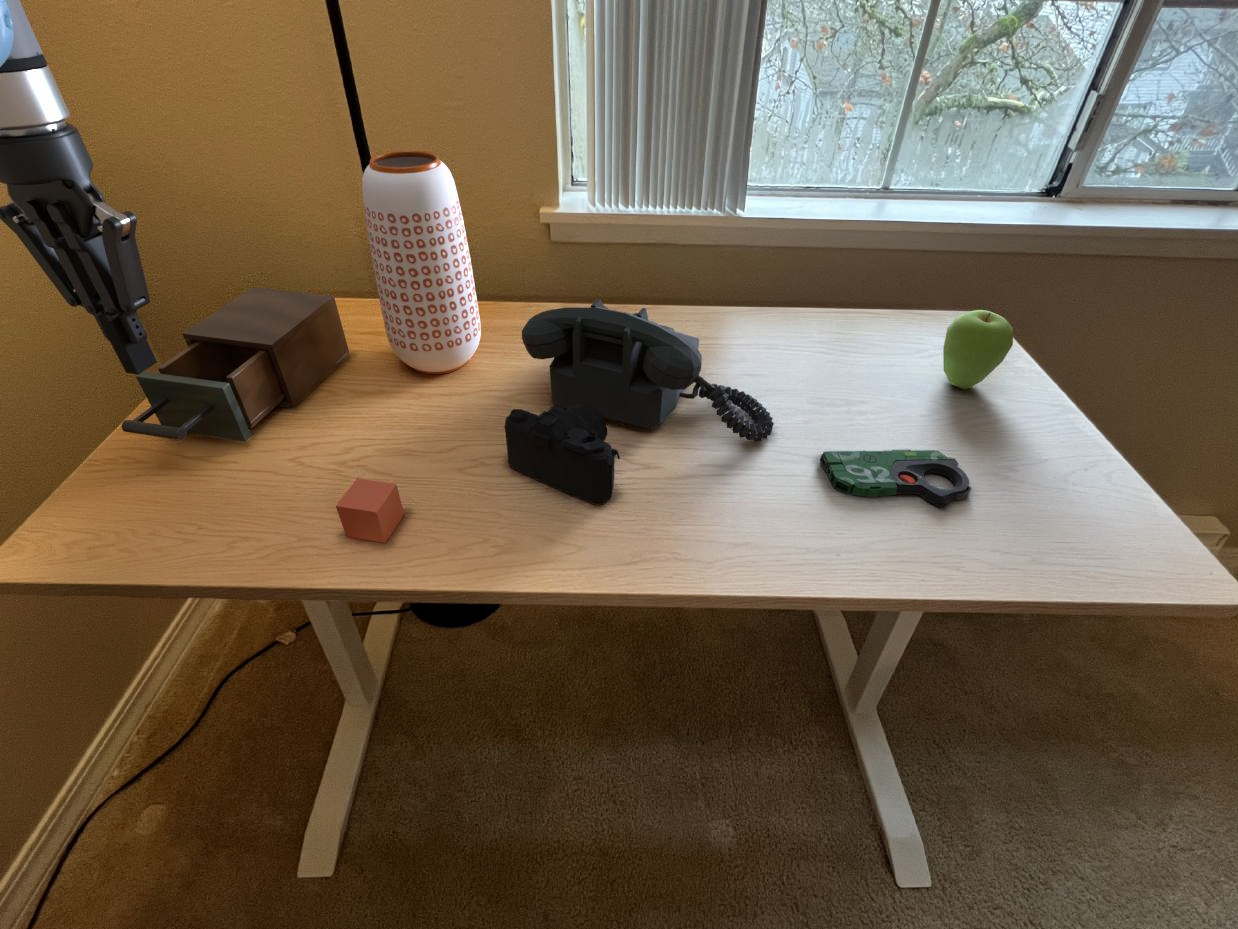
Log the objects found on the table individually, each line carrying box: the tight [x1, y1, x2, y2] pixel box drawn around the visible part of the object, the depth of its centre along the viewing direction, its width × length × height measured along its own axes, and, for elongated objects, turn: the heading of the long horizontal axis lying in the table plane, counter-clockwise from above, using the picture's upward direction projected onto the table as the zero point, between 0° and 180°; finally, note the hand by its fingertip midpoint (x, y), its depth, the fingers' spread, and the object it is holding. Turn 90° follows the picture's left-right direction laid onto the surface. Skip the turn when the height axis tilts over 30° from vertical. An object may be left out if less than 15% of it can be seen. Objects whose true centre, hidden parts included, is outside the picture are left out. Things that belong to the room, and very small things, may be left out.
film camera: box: [503, 404, 621, 505], centre depth 75 cm, size 15×10×9 cm, turn 58°
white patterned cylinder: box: [361, 150, 482, 375], centre depth 88 cm, size 13×13×28 cm
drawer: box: [120, 341, 285, 443], centre depth 80 cm, size 20×11×8 cm, turn 169°
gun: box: [819, 449, 972, 508], centre depth 77 cm, size 16×1×10 cm
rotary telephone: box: [521, 298, 775, 442], centre depth 86 cm, size 33×22×15 cm, turn 69°
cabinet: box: [181, 286, 351, 409], centre depth 89 cm, size 15×13×10 cm
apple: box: [942, 309, 1014, 390], centre depth 91 cm, size 9×8×12 cm
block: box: [335, 477, 405, 544], centre depth 68 cm, size 4×4×4 cm
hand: (141, 367), depth 70 cm, fingers closed
